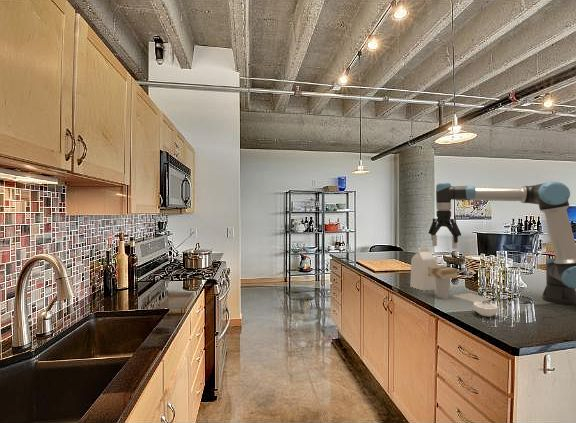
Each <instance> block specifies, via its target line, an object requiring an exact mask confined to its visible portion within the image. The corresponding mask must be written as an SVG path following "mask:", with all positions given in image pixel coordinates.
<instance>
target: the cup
mask: <svg viewBox="0 0 576 423" xmlns="http://www.w3.org/2000/svg"><path fill="white" fill-rule="evenodd" d="M451 279H452V278H450V279H440V278H436V277H435V281H436V297H437V298H438V299H444V300H445V299H450V291H451V290H450V289H451V288H450V287H451Z"/></svg>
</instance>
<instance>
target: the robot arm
mask: <svg viewBox="0 0 576 423" xmlns="http://www.w3.org/2000/svg"><path fill="white" fill-rule="evenodd" d="M435 188H436V189H435V200H436V203H435V204H436V208H435V209H436V217H435V218H432V223H431V225H430V227H429V231H428V234H430V236H431V241H432V243H431V244H432V245H431V246H432V247H437V246H438V241H437V240H438V239H437V238H438V235H437V233H438V232H439V230H440V229H441V227H445V228H447V229H448V231H449V232H450V234H451V235H452V236H451V249H453V250H454V249H456V250H457V249H458V242H459V240H458V239H459V237H461V236H462V232H461V231H460V229H459V226H458V223H457V219H456V218H451V217H452V211H451V210H452V201H453V200H454V201H455V200H456V201H484V202H485V201H487V202H488V201H494V202H520V203H522V204H533V205H538V207H539V210H540V212H543V214H544V217H545V219H546V224H547V227H548V230H549V234H550V238H551V242H552V246H553V249H554V253H555V257H556V258H547V259H546V262H545V267H546V268H545V271H546V273H545V274H546V276H545V277H546V283H545V284H546V285H545V287H544V290H543V292H542V300H544V301H547V302H550V303H553V304H554V303H555V304H559V305H568V306H569V305H570V306H575V305H576V239H575V237H574V232H573V230H572V229H573V228H572V225H571V222H570V219H569V214H568V208H569V207H570V203H569V198H570V197H571V191H570V188H569V187H568V186H567V185H566V184H564V183H562V182H559V181H547V182H544V183H543V182H542V183H539V184H534V185H523V186H521V187H475V186H474V185H459V186H458V185H457V186H452V185H451V183H450V182H442V183H437V184H436V187H435Z"/></svg>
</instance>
